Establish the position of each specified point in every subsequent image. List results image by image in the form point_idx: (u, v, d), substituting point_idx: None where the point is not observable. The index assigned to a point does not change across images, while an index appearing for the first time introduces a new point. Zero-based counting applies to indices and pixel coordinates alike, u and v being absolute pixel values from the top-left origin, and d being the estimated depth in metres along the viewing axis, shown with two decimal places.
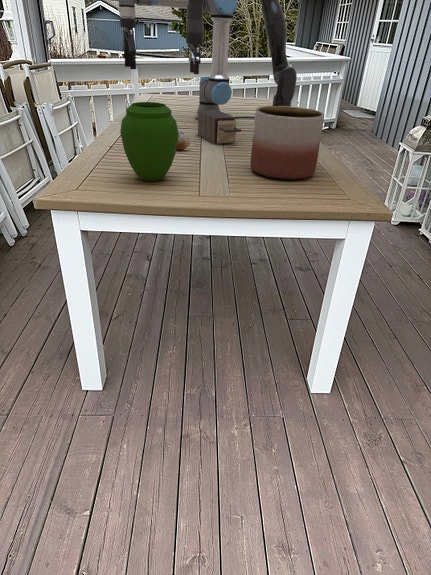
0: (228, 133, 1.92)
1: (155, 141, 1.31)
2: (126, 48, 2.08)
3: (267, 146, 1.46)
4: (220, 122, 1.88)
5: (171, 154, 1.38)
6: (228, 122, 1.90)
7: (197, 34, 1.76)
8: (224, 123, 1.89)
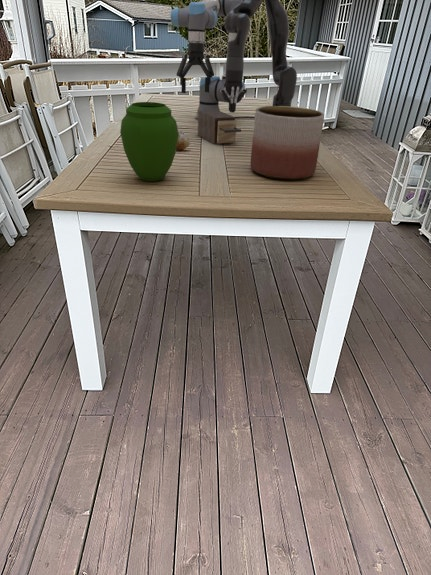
0: (228, 133, 1.92)
1: (155, 141, 1.31)
2: (205, 73, 2.01)
3: (267, 146, 1.46)
4: (220, 122, 1.88)
5: (171, 154, 1.38)
6: (228, 122, 1.90)
7: None
8: (224, 123, 1.89)
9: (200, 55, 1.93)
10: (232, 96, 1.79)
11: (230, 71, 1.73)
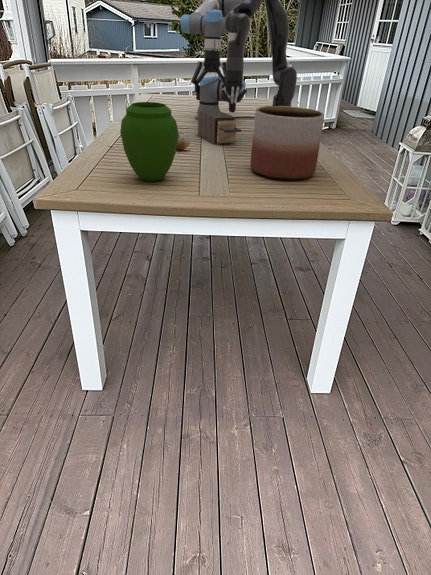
0: (228, 133, 1.92)
1: (155, 141, 1.31)
2: (222, 80, 1.99)
3: (267, 146, 1.46)
4: (220, 122, 1.88)
5: (171, 154, 1.38)
6: (228, 122, 1.90)
7: None
8: (224, 123, 1.89)
9: (216, 62, 1.92)
10: (232, 96, 1.79)
11: (230, 71, 1.73)
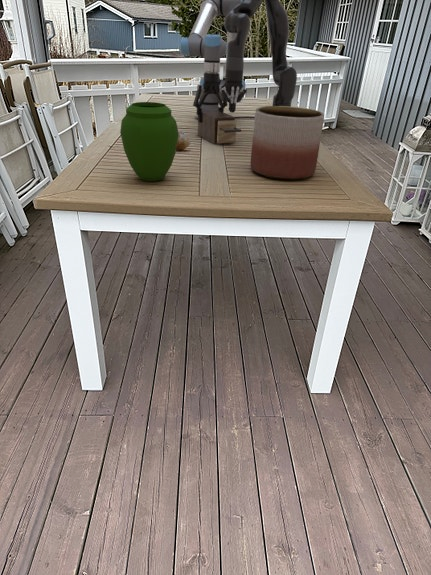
0: (228, 133, 1.92)
1: (155, 141, 1.31)
2: (219, 103, 2.04)
3: (267, 146, 1.46)
4: (220, 122, 1.88)
5: (171, 154, 1.38)
6: (228, 122, 1.90)
7: None
8: (224, 123, 1.89)
9: (215, 84, 1.97)
10: (232, 96, 1.79)
11: (230, 71, 1.73)
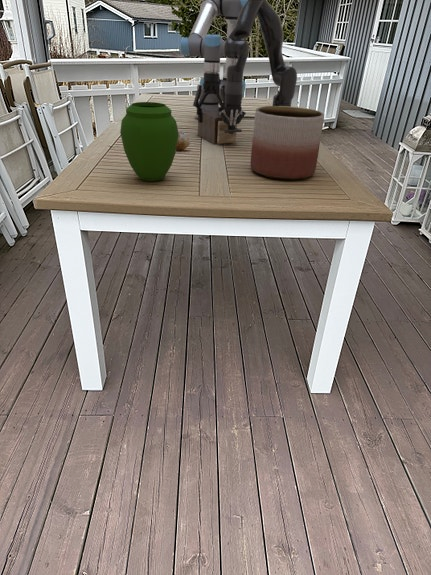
0: (228, 133, 1.92)
1: (155, 141, 1.31)
2: (219, 103, 2.04)
3: (267, 146, 1.46)
4: (220, 122, 1.88)
5: (171, 154, 1.38)
6: None
7: None
8: (224, 123, 1.89)
9: (215, 84, 1.97)
10: (231, 118, 1.83)
11: (229, 95, 1.77)
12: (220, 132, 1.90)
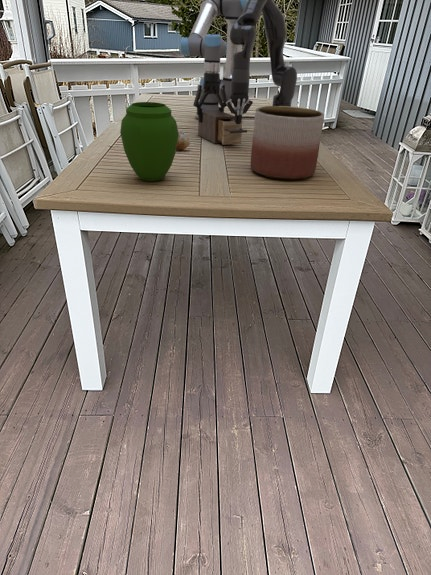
0: (233, 134, 1.88)
1: (155, 141, 1.31)
2: (219, 103, 2.04)
3: (267, 146, 1.46)
4: (225, 123, 1.84)
5: (171, 154, 1.38)
6: (233, 123, 1.86)
7: None
8: (229, 124, 1.85)
9: (215, 84, 1.97)
10: (238, 108, 1.77)
11: (236, 83, 1.71)
12: (225, 133, 1.86)
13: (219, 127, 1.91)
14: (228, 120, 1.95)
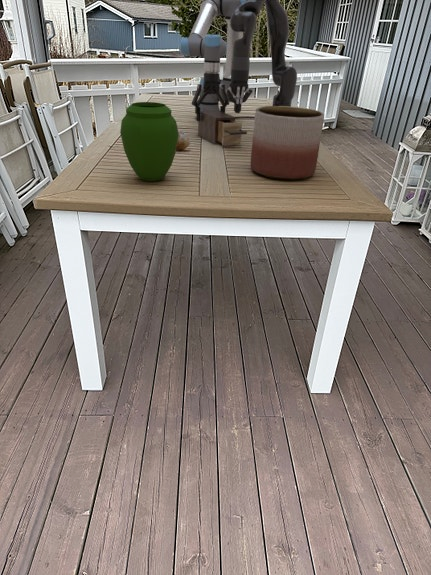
0: (233, 135, 1.89)
1: (155, 141, 1.31)
2: (220, 102, 2.04)
3: (267, 146, 1.46)
4: (225, 124, 1.84)
5: (171, 154, 1.38)
6: (233, 124, 1.86)
7: None
8: (229, 125, 1.85)
9: (215, 84, 1.97)
10: (238, 96, 1.75)
11: (236, 71, 1.69)
12: (225, 134, 1.87)
13: (219, 128, 1.91)
14: (228, 121, 1.95)
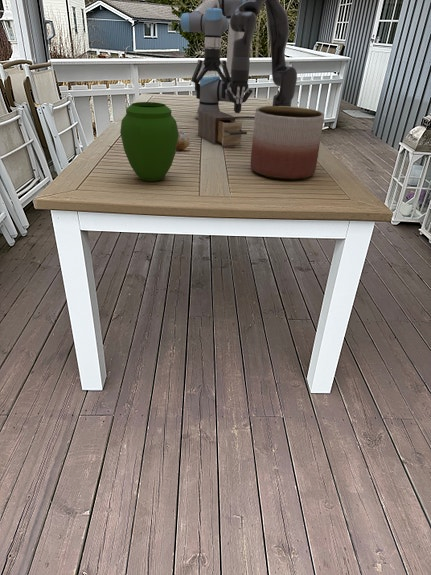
0: (233, 135, 1.89)
1: (155, 141, 1.31)
2: (222, 79, 1.99)
3: (267, 146, 1.46)
4: (225, 124, 1.84)
5: (171, 154, 1.38)
6: (233, 124, 1.86)
7: None
8: (229, 125, 1.85)
9: (216, 61, 1.92)
10: (238, 96, 1.75)
11: (236, 71, 1.69)
12: (225, 134, 1.87)
13: (219, 128, 1.91)
14: (228, 121, 1.95)
